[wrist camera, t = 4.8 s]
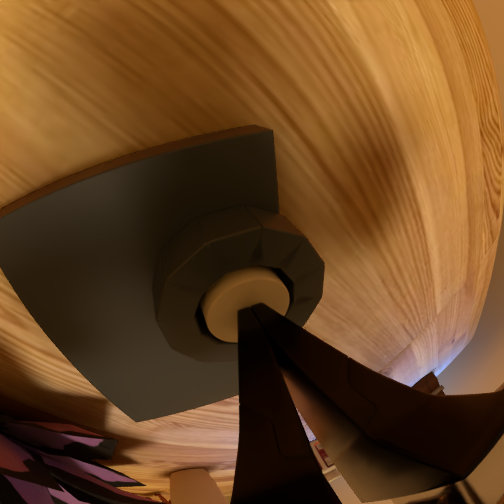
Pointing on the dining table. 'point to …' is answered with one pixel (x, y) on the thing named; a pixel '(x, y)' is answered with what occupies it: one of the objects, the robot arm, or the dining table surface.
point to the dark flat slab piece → (155, 264)
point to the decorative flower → (59, 466)
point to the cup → (194, 488)
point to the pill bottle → (324, 461)
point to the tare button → (241, 298)
